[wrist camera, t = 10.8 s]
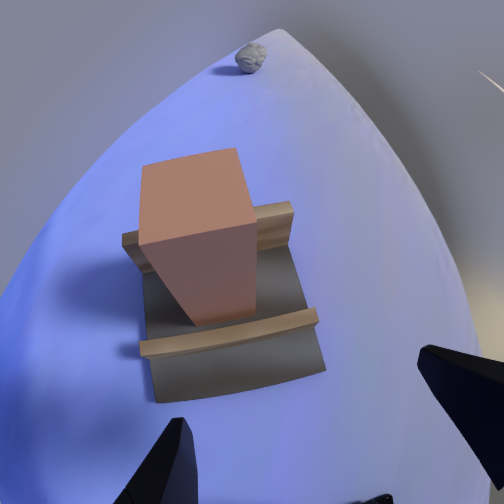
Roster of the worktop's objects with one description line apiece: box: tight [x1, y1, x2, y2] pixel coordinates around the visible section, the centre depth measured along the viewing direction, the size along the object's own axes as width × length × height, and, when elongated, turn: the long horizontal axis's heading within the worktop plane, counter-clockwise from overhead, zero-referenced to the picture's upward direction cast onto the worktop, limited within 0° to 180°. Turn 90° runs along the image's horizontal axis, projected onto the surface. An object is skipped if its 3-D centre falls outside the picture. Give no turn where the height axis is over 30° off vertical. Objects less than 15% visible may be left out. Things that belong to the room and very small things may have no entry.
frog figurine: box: [235, 43, 267, 73], centre depth 45 cm, size 6×7×7 cm
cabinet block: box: [139, 148, 257, 327], centre depth 18 cm, size 6×5×13 cm
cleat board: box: [122, 201, 326, 403], centre depth 21 cm, size 13×14×6 cm
